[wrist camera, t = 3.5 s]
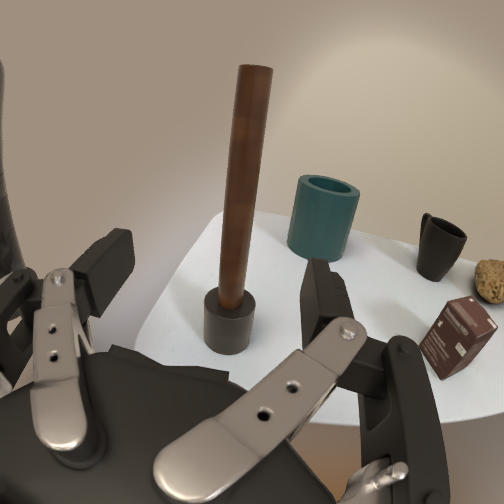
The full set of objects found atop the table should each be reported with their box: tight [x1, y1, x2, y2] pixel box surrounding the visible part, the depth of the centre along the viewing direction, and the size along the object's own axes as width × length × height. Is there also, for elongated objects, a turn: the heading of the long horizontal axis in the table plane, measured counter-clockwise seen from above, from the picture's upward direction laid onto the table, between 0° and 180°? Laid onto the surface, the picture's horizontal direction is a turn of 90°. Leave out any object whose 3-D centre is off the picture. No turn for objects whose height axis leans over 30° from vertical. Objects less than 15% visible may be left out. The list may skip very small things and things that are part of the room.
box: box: [419, 296, 498, 380], centre depth 24 cm, size 6×6×7 cm
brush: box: [204, 64, 273, 355], centre depth 21 cm, size 5×5×24 cm
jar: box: [287, 175, 360, 262], centre depth 43 cm, size 10×10×11 cm
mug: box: [417, 213, 467, 282], centre depth 42 cm, size 8×12×10 cm
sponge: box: [475, 260, 504, 304], centre depth 37 cm, size 13×8×20 cm
